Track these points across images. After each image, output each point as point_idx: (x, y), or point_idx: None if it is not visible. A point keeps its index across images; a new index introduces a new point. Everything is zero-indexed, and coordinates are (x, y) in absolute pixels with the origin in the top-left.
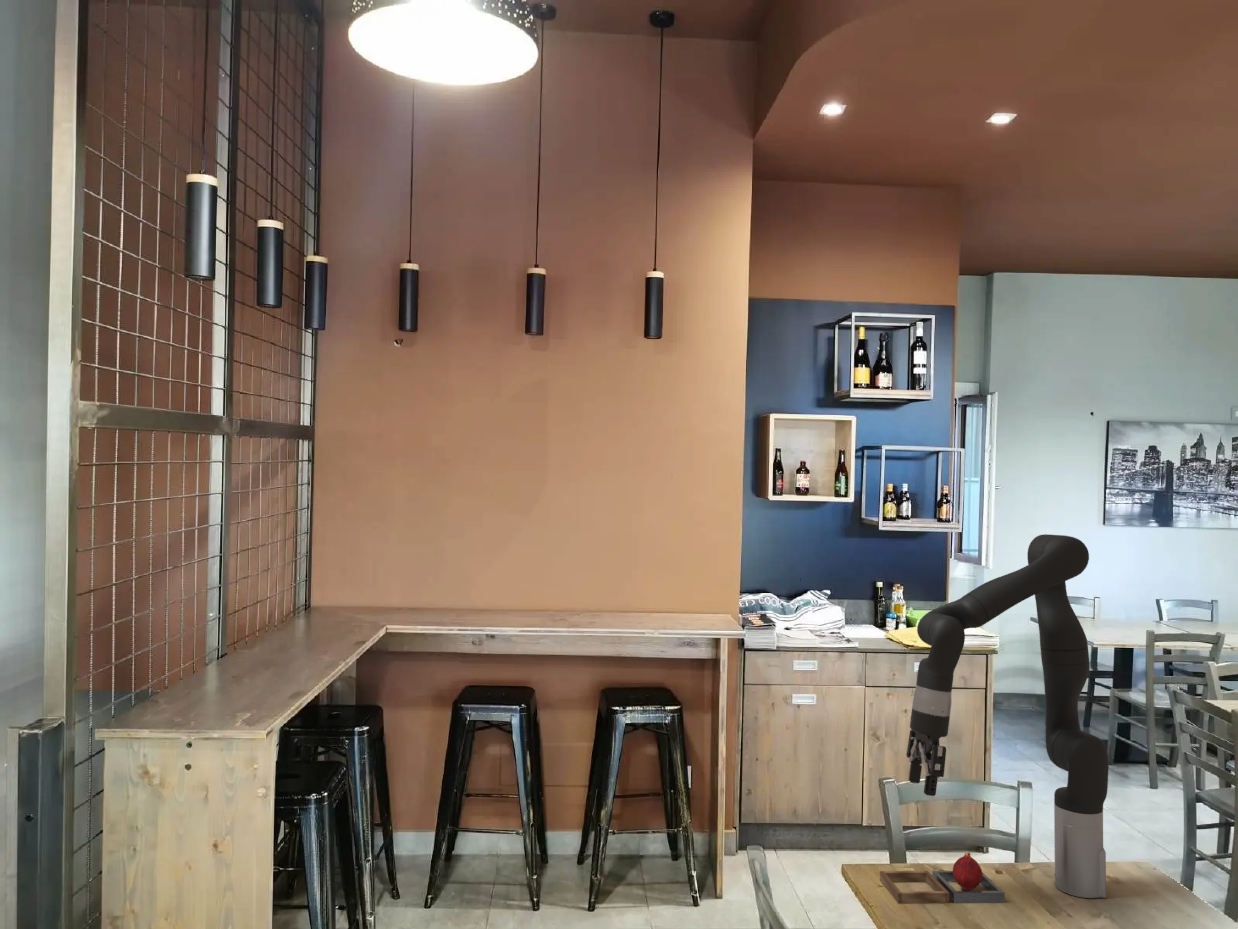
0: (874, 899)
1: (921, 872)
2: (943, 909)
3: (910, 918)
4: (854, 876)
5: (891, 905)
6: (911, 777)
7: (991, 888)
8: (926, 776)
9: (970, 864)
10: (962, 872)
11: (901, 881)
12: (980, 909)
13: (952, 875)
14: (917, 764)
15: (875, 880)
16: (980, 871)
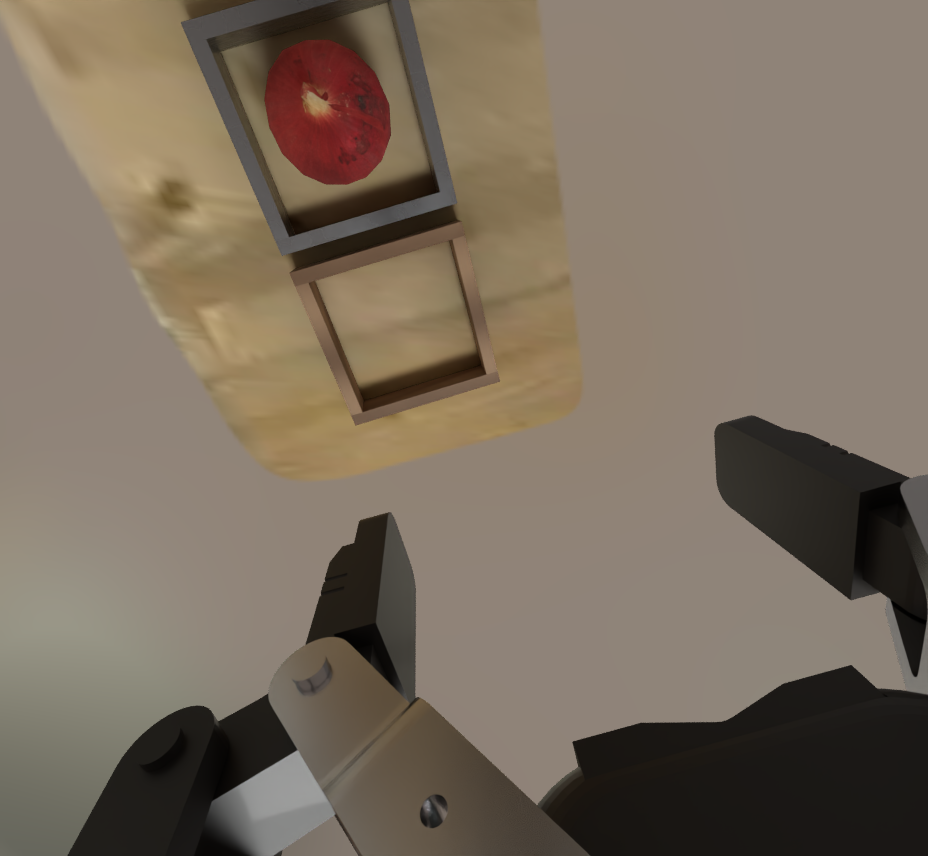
0: (481, 427)
1: (314, 298)
2: (504, 246)
3: (573, 346)
4: (351, 473)
5: (507, 388)
6: (409, 597)
7: (326, 10)
8: (874, 591)
9: (364, 101)
10: (381, 150)
11: (344, 355)
12: (479, 110)
13: (265, 174)
14: (383, 676)
15: None
16: (352, 51)
